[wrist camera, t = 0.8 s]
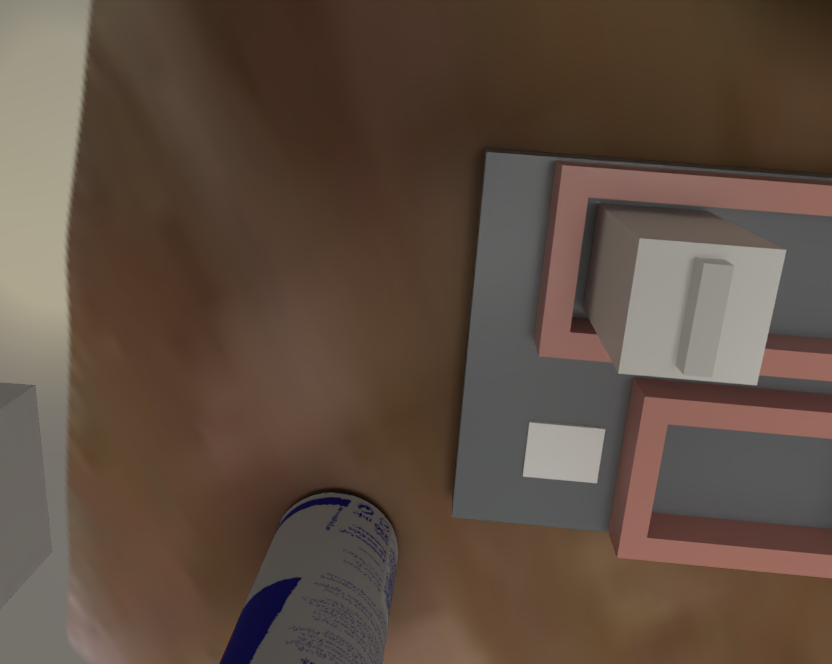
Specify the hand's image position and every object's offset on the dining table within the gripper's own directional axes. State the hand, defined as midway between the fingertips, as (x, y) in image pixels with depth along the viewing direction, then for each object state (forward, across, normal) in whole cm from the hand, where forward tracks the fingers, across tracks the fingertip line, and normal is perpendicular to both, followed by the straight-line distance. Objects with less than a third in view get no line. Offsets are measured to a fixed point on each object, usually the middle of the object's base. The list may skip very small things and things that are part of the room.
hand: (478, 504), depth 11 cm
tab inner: (+19, +7, 0) cm, 20 cm away
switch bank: (+21, +12, -4) cm, 24 cm away
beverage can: (+21, -5, -14) cm, 26 cm away
